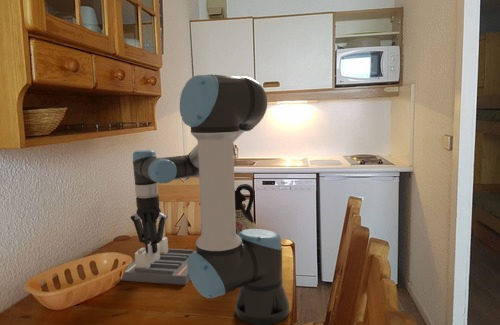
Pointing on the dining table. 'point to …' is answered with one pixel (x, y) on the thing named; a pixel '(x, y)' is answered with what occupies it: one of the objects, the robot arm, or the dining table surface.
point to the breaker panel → (162, 269)
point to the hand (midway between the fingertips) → (152, 261)
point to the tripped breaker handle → (142, 259)
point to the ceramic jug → (243, 209)
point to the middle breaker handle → (157, 252)
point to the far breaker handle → (163, 245)
